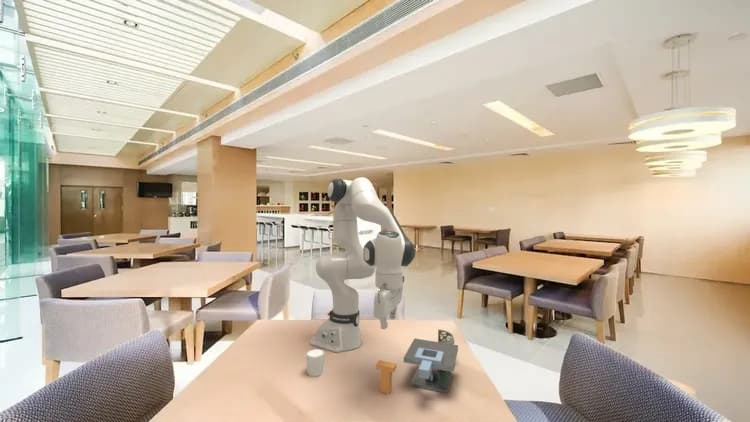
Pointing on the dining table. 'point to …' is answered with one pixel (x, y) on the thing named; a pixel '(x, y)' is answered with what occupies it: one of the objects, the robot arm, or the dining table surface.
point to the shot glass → (315, 362)
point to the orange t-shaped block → (386, 375)
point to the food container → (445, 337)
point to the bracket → (427, 361)
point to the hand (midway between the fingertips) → (388, 323)
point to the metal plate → (437, 378)
